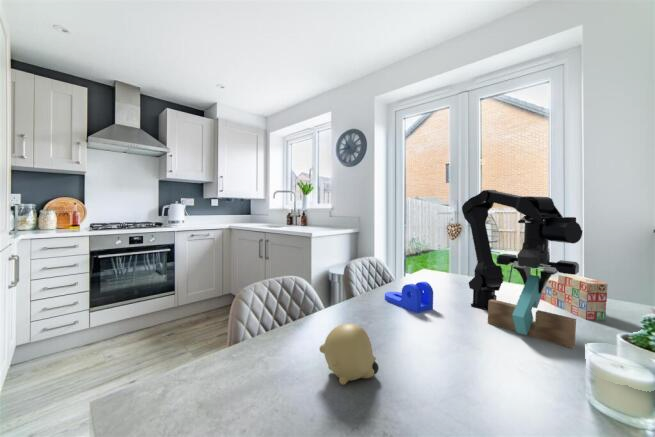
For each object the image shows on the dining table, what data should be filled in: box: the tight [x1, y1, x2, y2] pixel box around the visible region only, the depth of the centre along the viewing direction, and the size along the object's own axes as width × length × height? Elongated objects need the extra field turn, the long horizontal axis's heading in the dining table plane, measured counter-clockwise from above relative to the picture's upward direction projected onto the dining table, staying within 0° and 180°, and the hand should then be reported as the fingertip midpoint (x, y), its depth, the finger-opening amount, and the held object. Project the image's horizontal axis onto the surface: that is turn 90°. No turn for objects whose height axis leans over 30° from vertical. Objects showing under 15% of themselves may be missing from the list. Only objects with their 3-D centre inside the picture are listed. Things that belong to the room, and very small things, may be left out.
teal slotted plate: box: [512, 274, 542, 336], centre depth 79 cm, size 16×2×7 cm
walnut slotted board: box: [487, 299, 577, 349], centre depth 79 cm, size 20×2×7 cm, turn 40°
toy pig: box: [318, 323, 380, 386], centre depth 57 cm, size 10×12×11 cm
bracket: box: [384, 281, 434, 314], centre depth 103 cm, size 18×8×9 cm, turn 31°
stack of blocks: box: [540, 273, 609, 321], centre depth 100 cm, size 21×6×12 cm, turn 177°
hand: (533, 292), depth 82 cm, fingers closed on teal slotted plate, 2 cm apart
